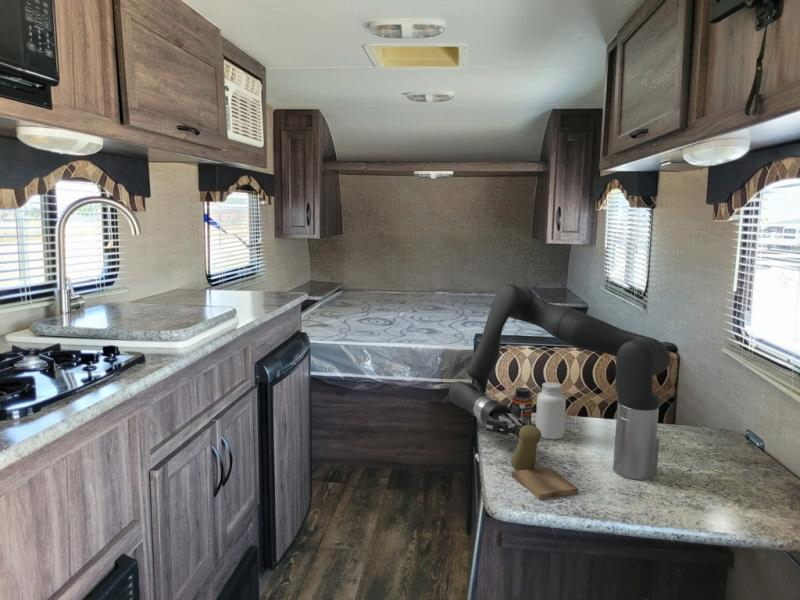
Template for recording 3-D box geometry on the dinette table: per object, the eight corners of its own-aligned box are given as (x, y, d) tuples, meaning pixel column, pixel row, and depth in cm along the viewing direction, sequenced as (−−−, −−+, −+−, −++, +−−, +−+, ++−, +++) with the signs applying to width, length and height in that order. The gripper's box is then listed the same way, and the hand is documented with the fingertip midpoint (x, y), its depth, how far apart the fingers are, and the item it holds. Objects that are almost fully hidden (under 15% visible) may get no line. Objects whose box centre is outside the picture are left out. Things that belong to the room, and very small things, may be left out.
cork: (506, 458, 143) (514, 423, 138) (526, 453, 145) (534, 419, 140) (519, 475, 138) (528, 439, 133) (540, 470, 140) (549, 434, 135)
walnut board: (547, 471, 140) (548, 466, 140) (577, 493, 129) (578, 488, 129) (511, 476, 137) (511, 471, 137) (539, 499, 126) (539, 494, 126)
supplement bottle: (525, 430, 167) (527, 393, 165) (507, 426, 170) (509, 389, 169) (534, 425, 172) (536, 388, 170) (516, 420, 175) (518, 385, 174)
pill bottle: (531, 430, 167) (533, 380, 165) (557, 429, 168) (560, 380, 166) (540, 440, 159) (543, 388, 157) (568, 440, 160) (571, 388, 158)
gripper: (470, 401, 154) (502, 423, 137) (514, 397, 158) (549, 418, 142) (469, 428, 155) (500, 453, 138) (512, 423, 159) (547, 447, 143)
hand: (525, 435), depth 140 cm, fingers closed
